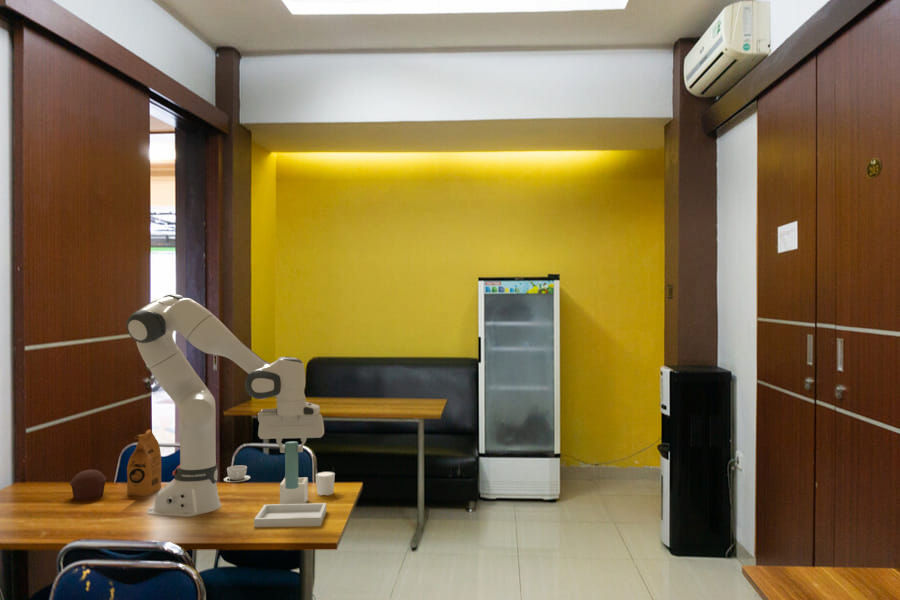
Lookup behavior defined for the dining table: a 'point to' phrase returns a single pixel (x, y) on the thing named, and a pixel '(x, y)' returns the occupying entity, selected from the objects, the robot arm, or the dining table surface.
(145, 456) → the coffee package
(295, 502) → the deep box
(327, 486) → the tan cylinder
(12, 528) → the dining table surface
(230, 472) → the teacup
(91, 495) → the muffin
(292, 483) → the dowel
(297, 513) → the tray
